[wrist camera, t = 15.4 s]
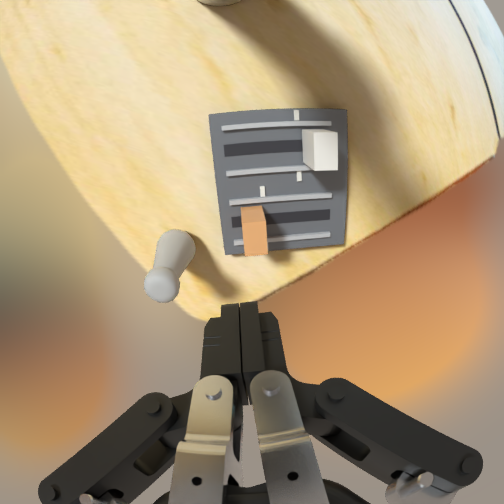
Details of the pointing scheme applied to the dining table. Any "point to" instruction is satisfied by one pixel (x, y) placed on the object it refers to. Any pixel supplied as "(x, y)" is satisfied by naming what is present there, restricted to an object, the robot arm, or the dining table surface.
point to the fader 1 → (254, 230)
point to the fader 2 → (320, 149)
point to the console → (279, 176)
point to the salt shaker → (169, 265)
